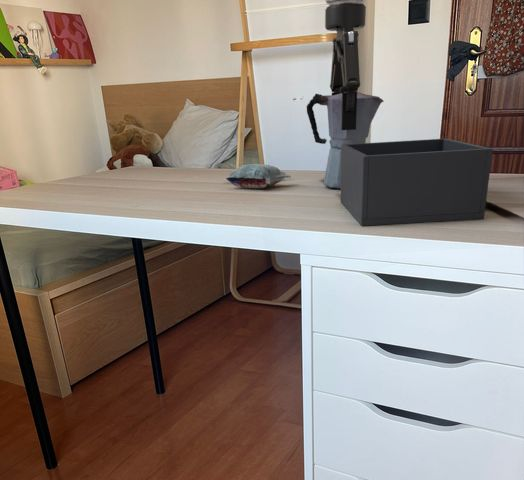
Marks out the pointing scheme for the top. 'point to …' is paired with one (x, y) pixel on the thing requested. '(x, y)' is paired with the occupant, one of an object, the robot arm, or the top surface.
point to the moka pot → (364, 117)
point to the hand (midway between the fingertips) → (342, 127)
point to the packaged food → (256, 176)
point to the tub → (414, 181)
